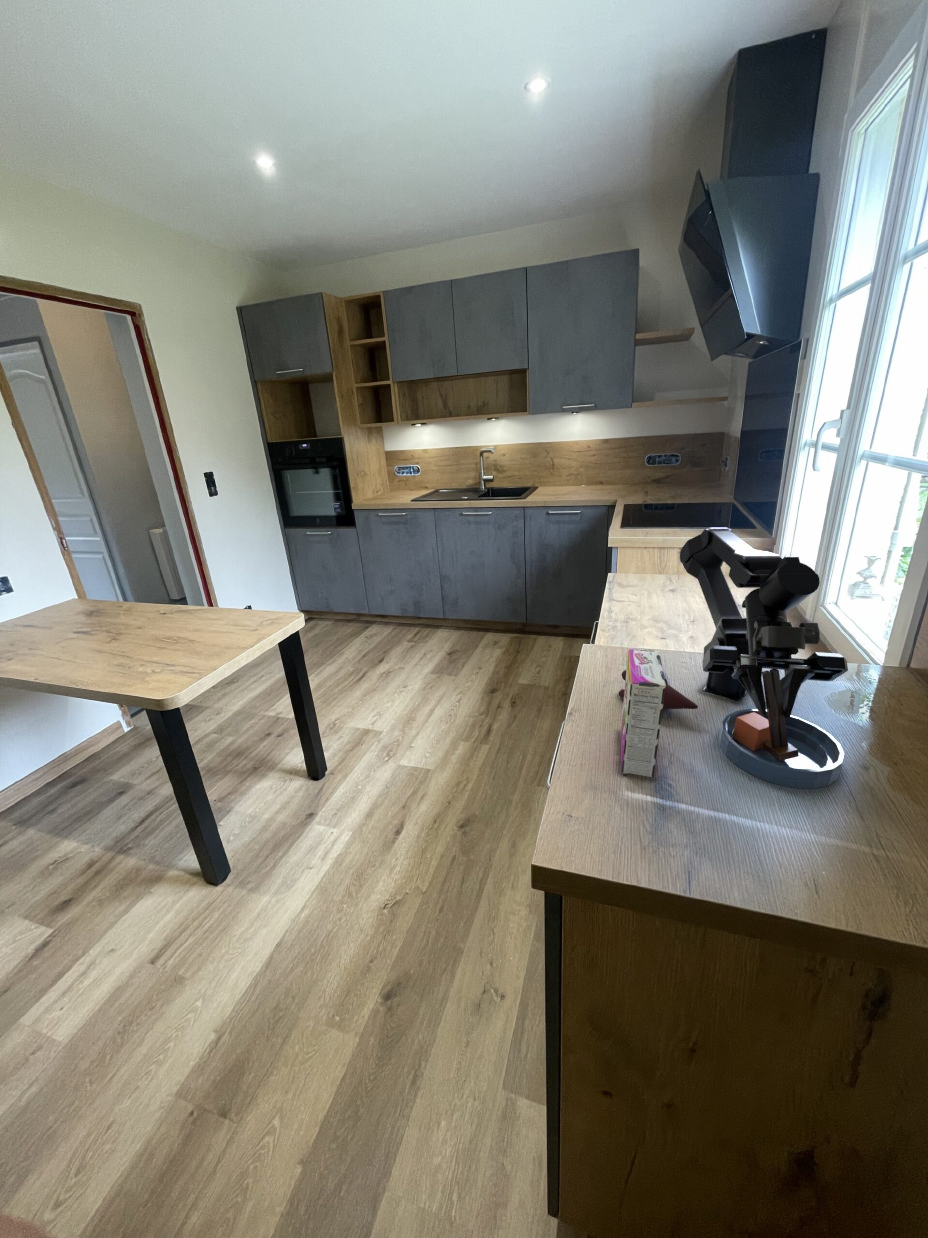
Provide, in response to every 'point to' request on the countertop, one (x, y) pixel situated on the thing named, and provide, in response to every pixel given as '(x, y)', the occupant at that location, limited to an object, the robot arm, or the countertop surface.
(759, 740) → the block
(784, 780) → the bowl
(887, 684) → the countertop surface
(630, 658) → the candy bar box
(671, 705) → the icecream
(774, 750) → the dark brown forked stand
